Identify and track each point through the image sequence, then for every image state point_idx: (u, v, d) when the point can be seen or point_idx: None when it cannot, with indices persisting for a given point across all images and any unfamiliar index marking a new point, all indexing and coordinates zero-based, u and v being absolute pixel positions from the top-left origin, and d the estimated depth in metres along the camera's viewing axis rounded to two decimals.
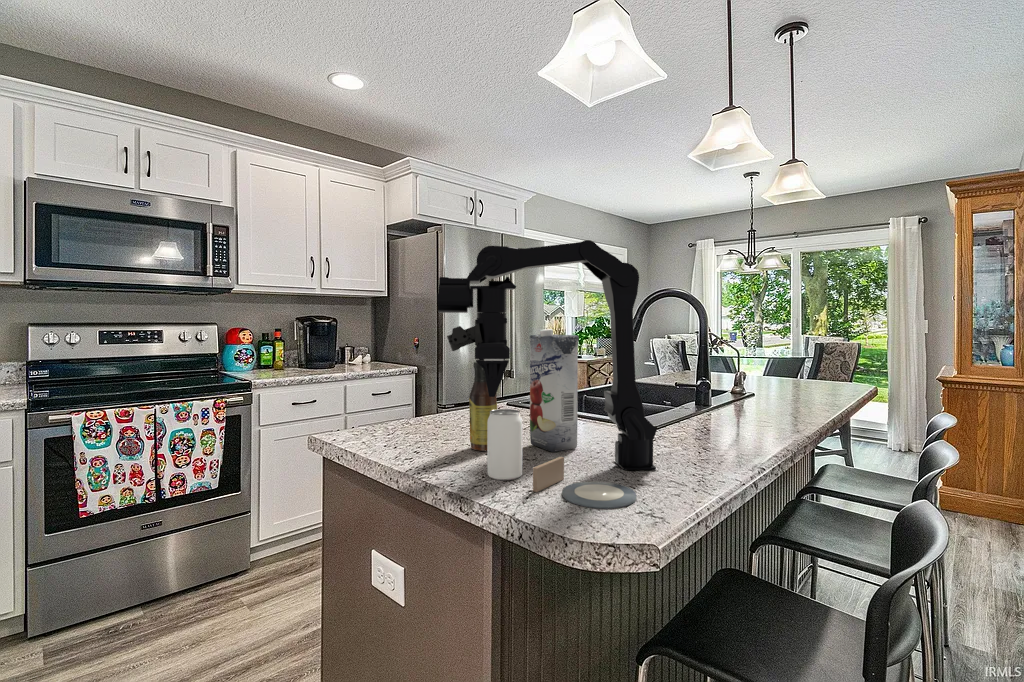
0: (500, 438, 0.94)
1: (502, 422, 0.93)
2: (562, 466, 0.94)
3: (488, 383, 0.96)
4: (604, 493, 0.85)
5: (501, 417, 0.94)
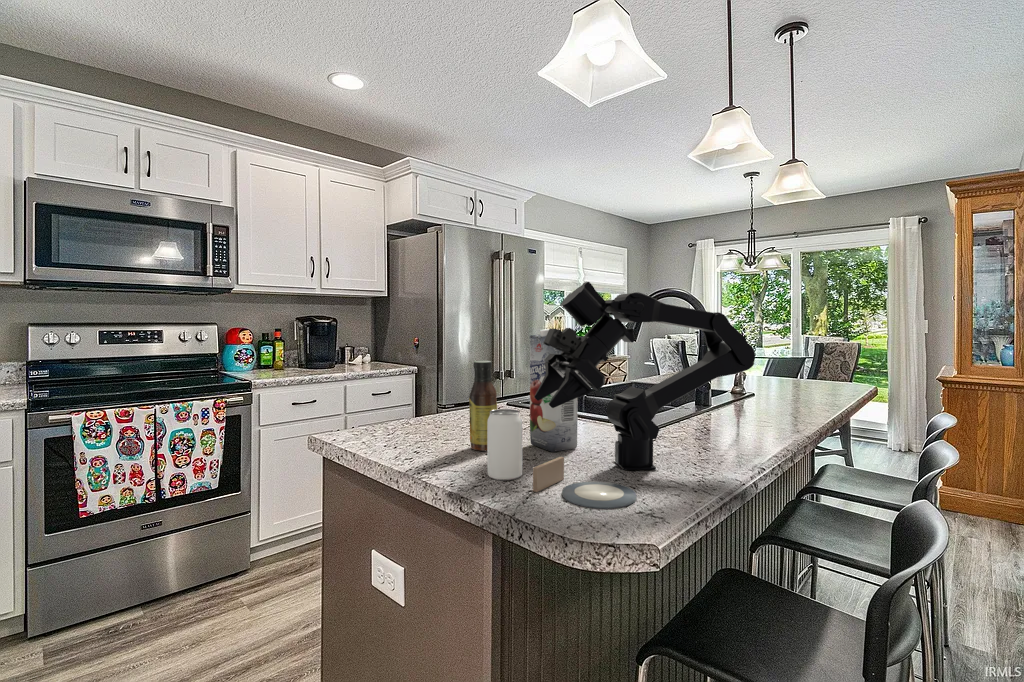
0: (500, 438, 0.94)
1: (502, 423, 0.93)
2: (562, 466, 0.94)
3: (559, 393, 0.93)
4: (604, 493, 0.85)
5: (501, 417, 0.94)
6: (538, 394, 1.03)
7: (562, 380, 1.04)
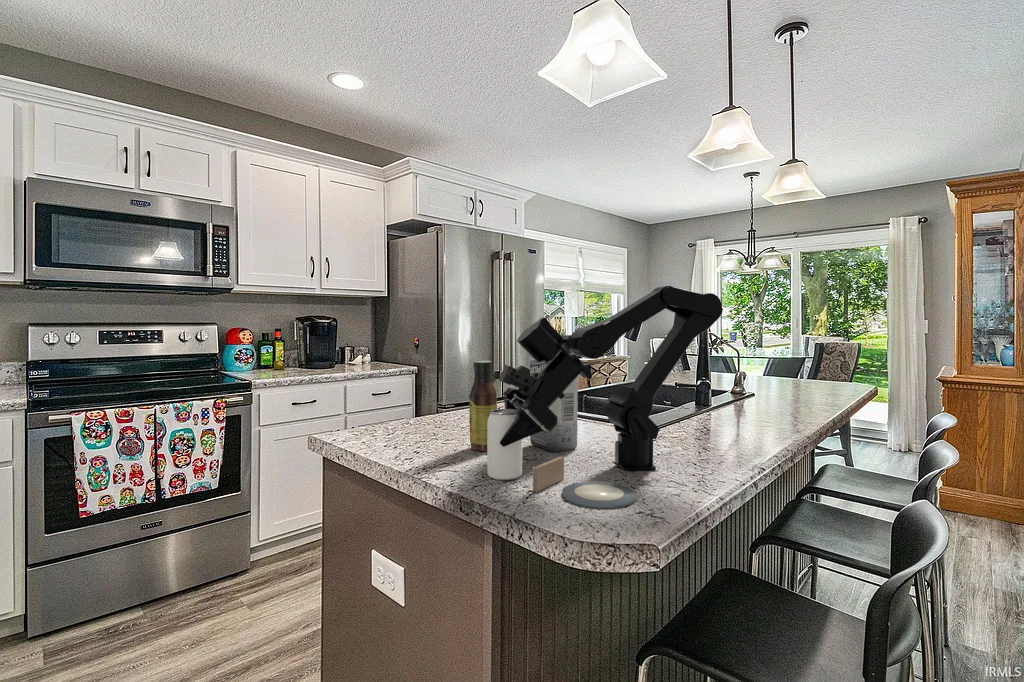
0: (500, 438, 0.94)
1: (502, 422, 0.93)
2: (562, 466, 0.94)
3: (510, 432, 0.93)
4: (604, 493, 0.85)
5: (501, 417, 0.94)
6: None
7: None
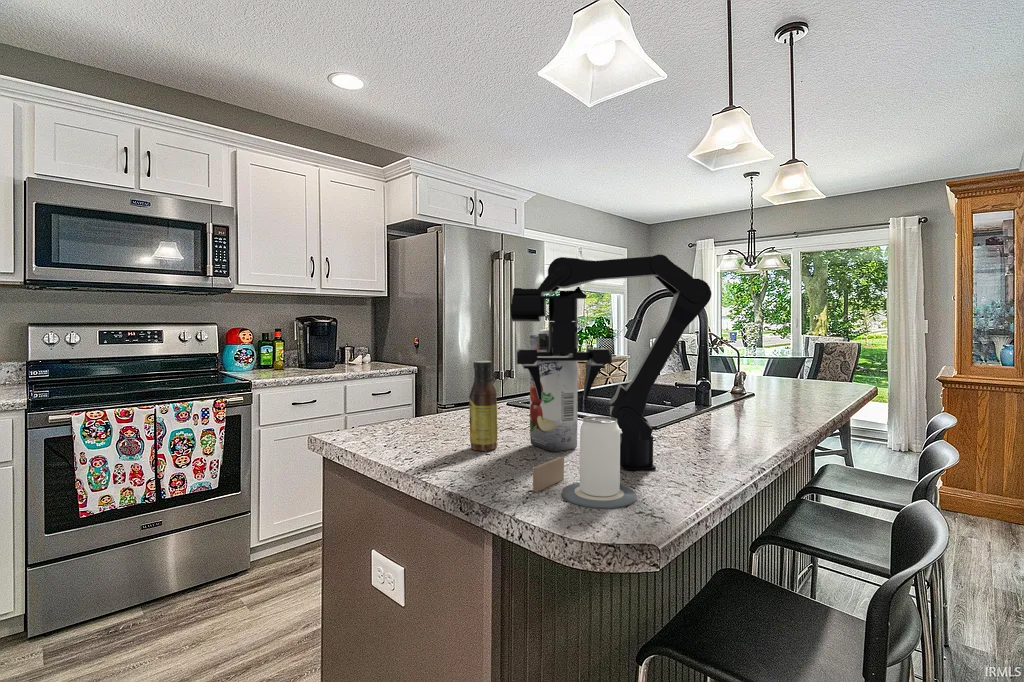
0: (614, 449, 0.83)
1: (615, 431, 0.83)
2: (562, 466, 0.94)
3: None
4: None
5: (612, 425, 0.83)
6: (584, 393, 1.06)
7: (589, 367, 1.04)
